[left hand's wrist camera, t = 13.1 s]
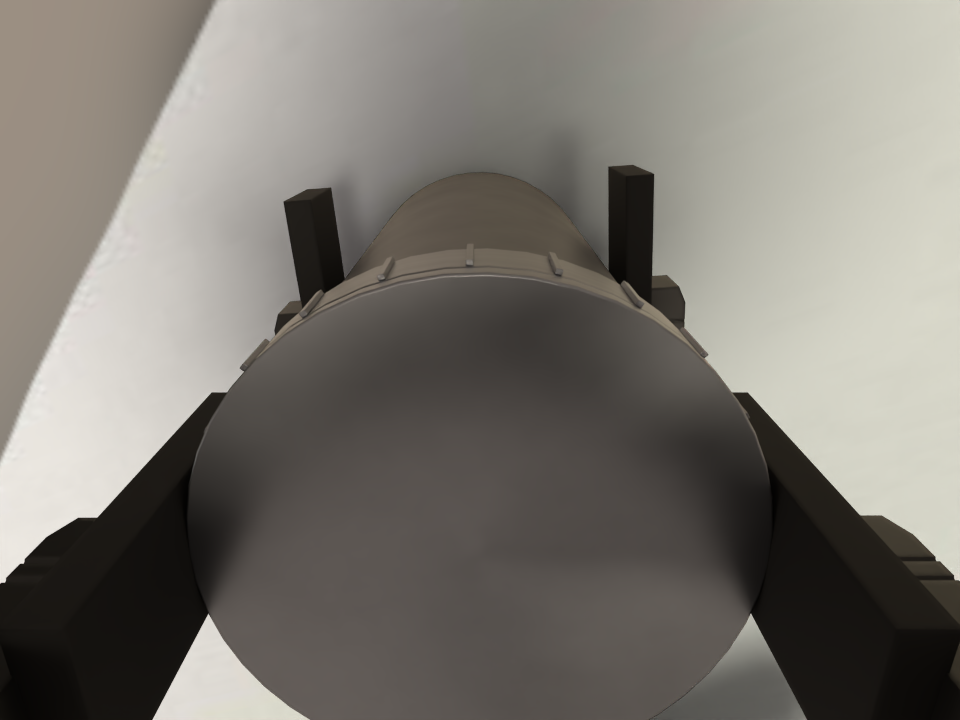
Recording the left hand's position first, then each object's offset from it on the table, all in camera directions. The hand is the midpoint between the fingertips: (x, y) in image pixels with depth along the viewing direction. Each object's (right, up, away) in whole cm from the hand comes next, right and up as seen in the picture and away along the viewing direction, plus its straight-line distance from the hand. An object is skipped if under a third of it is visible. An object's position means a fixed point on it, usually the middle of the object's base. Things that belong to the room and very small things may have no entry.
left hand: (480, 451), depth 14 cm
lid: (0, -1, -3) cm, 3 cm away
